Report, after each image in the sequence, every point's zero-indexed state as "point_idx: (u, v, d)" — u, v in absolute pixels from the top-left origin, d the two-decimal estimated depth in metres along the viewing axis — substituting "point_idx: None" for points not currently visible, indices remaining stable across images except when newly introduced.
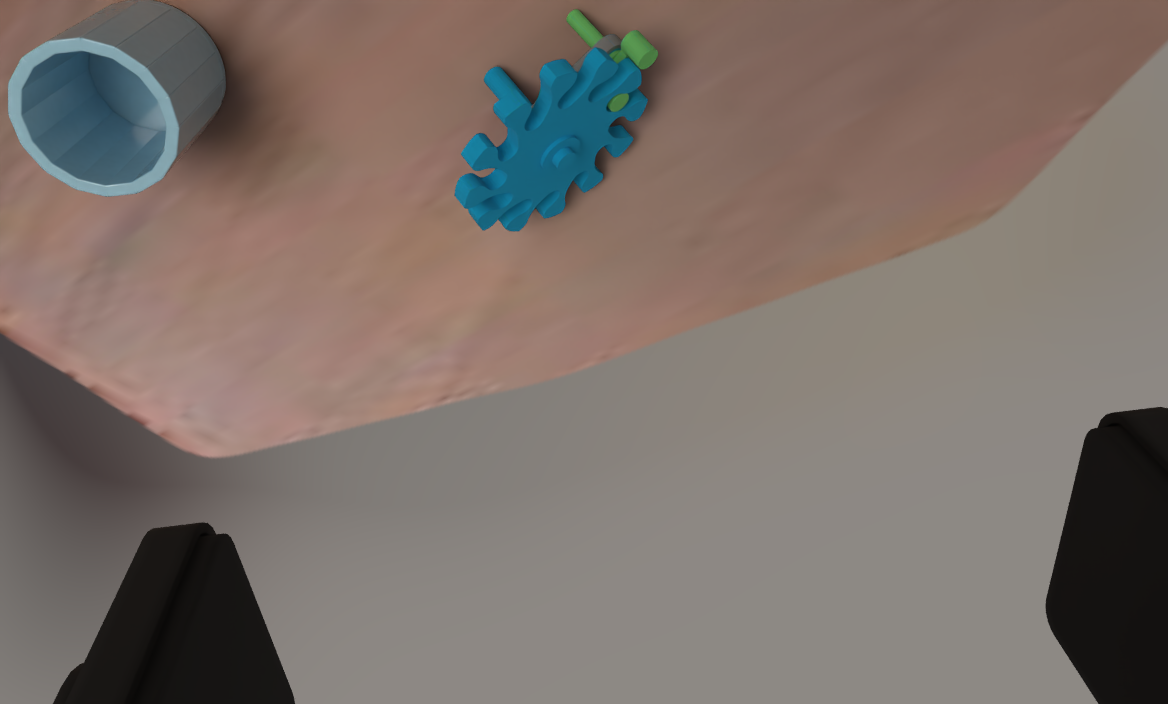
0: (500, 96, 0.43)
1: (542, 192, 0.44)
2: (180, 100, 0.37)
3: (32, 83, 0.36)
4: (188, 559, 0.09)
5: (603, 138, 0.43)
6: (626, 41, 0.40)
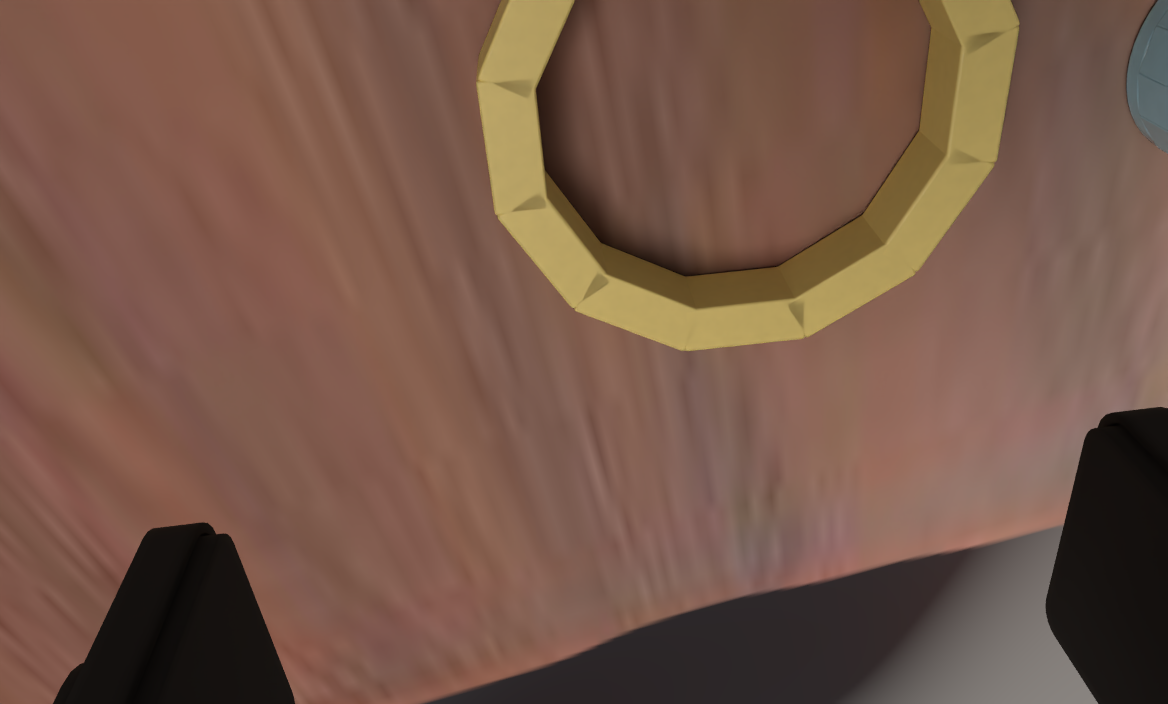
0: None
1: None
2: None
3: None
4: (188, 559, 0.09)
5: None
6: None
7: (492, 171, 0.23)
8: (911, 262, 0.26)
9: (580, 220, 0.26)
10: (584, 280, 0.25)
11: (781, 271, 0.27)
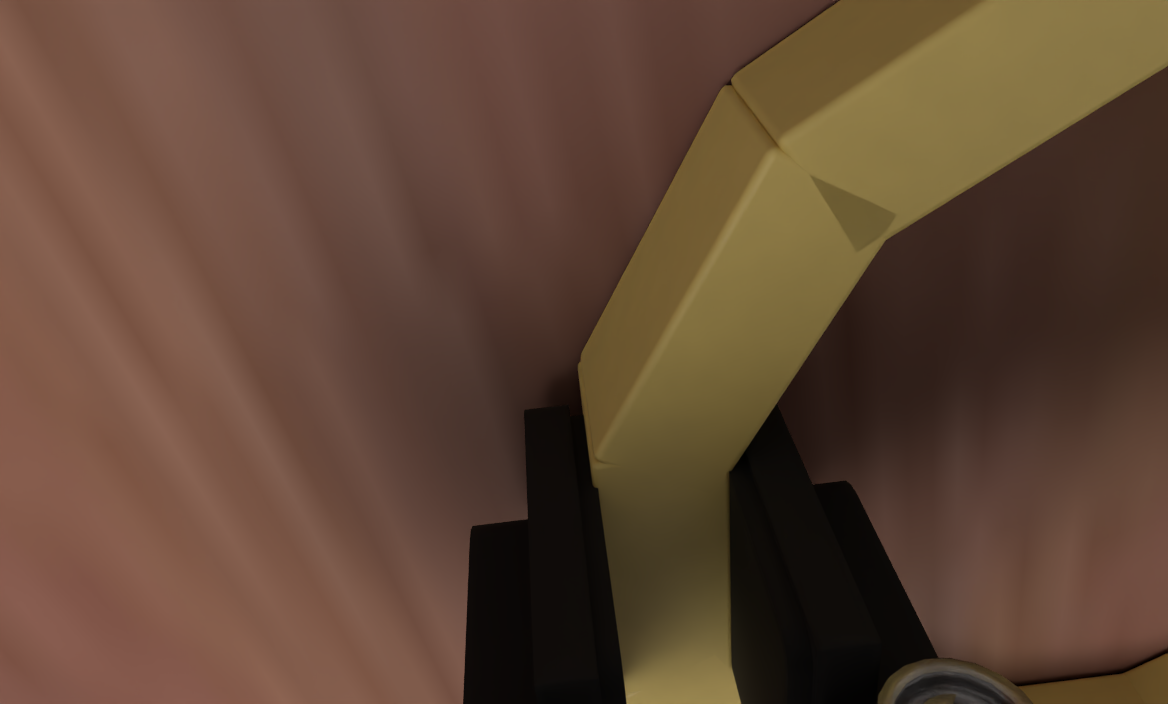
0: None
1: None
2: None
3: None
4: (572, 432, 0.10)
5: None
6: None
7: None
8: None
9: None
10: None
11: (1140, 691, 0.14)
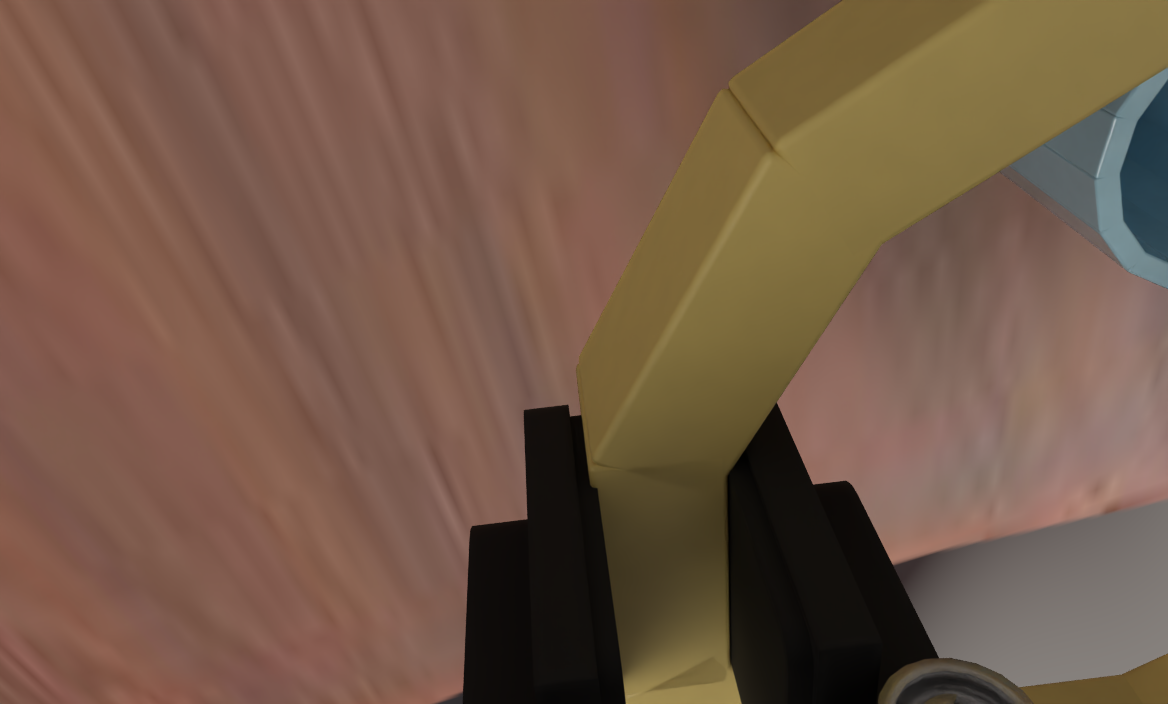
0: None
1: None
2: None
3: None
4: (572, 432, 0.10)
5: None
6: None
7: None
8: None
9: None
10: None
11: (1137, 693, 0.14)
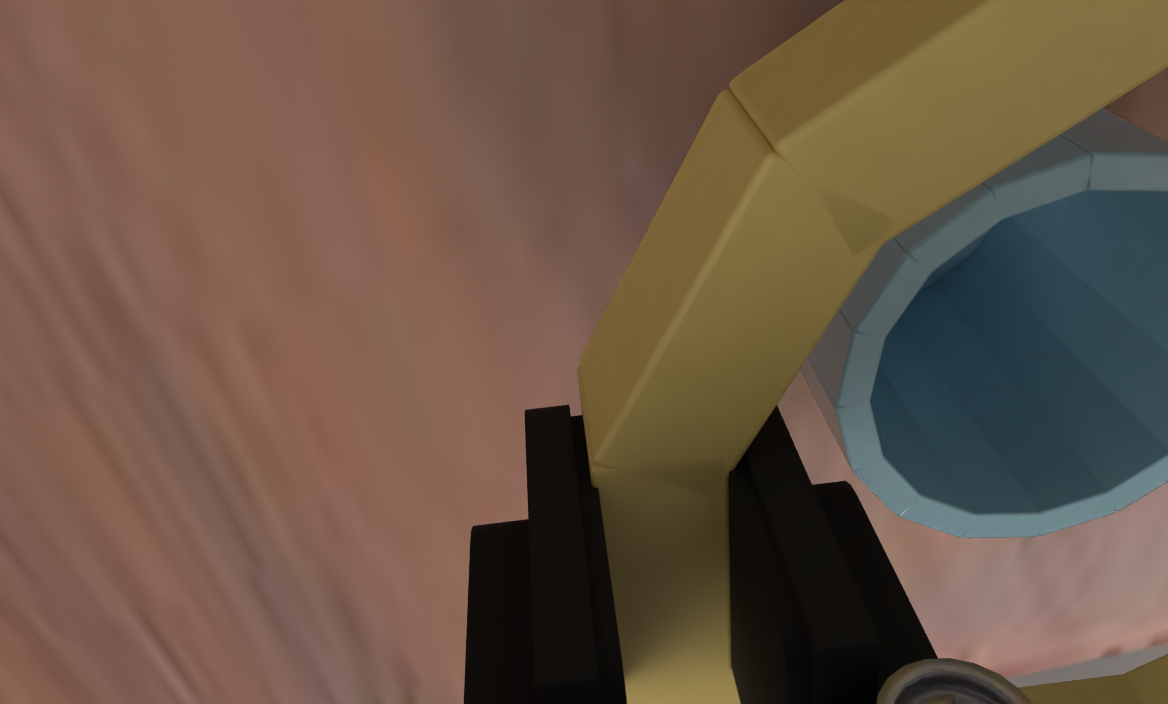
0: None
1: None
2: None
3: None
4: (573, 431, 0.10)
5: None
6: None
7: None
8: None
9: None
10: None
11: (1140, 693, 0.14)
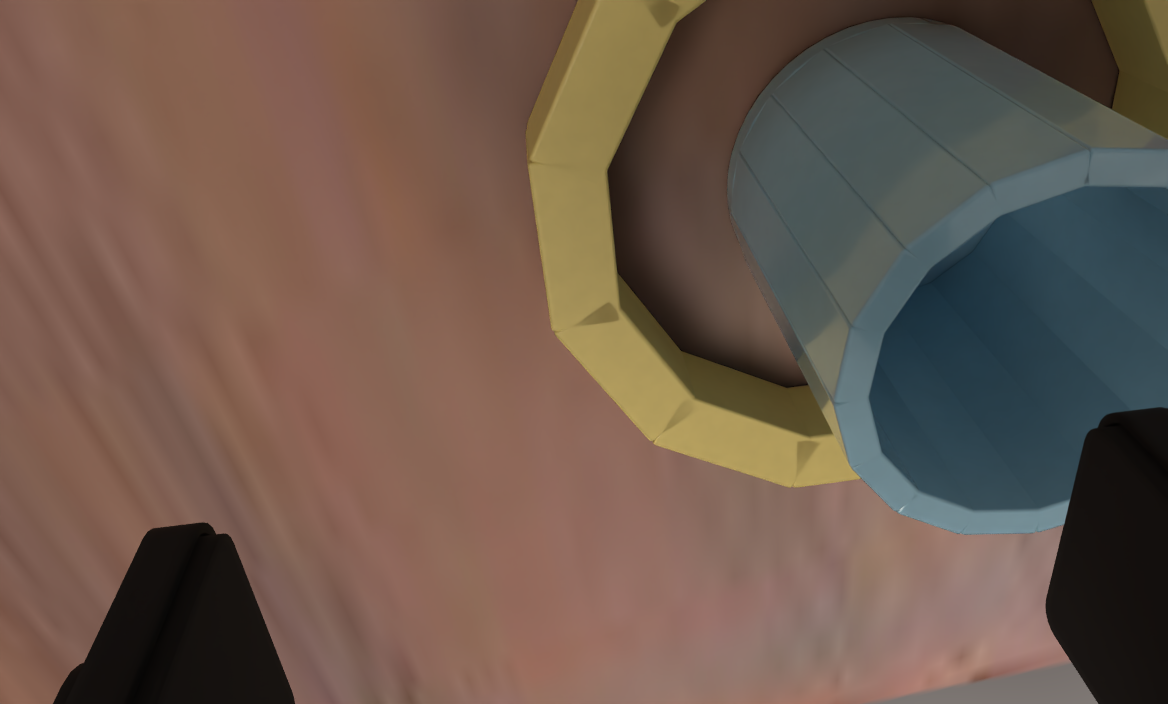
0: None
1: None
2: None
3: None
4: (188, 559, 0.09)
5: None
6: None
7: (548, 277, 0.18)
8: None
9: (657, 326, 0.20)
10: (666, 407, 0.19)
11: None
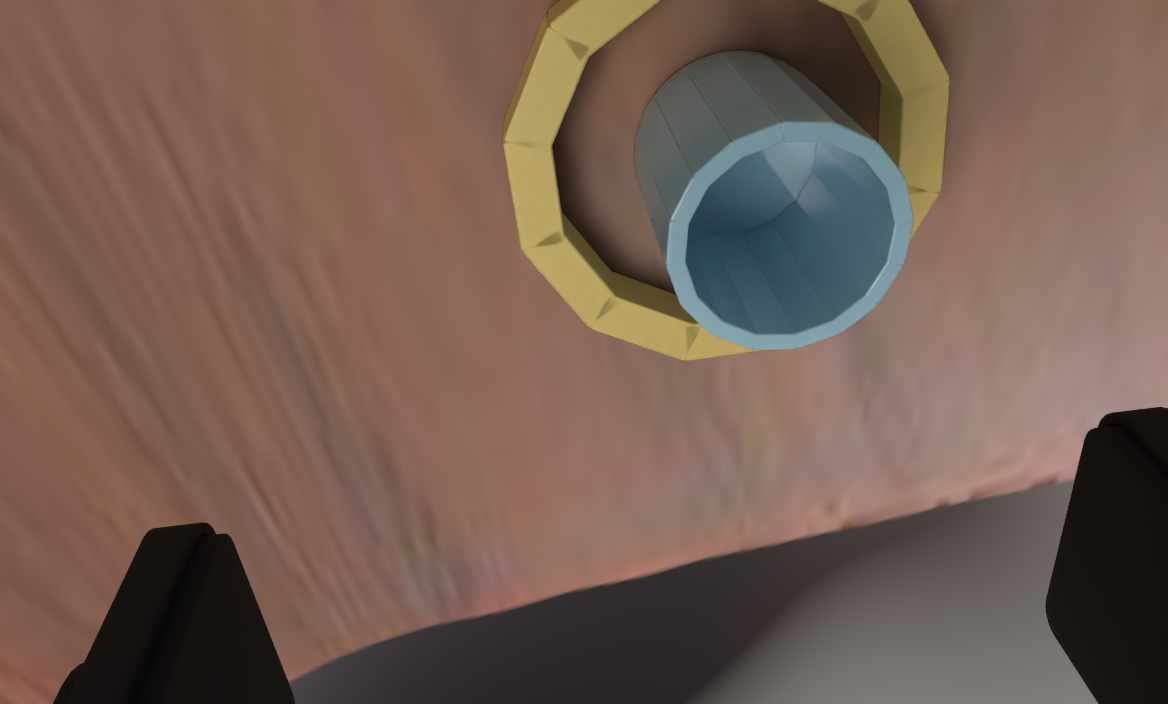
0: None
1: None
2: (838, 117, 0.23)
3: (692, 281, 0.25)
4: (188, 559, 0.09)
5: None
6: None
7: (518, 214, 0.28)
8: None
9: (593, 252, 0.31)
10: (597, 302, 0.30)
11: None
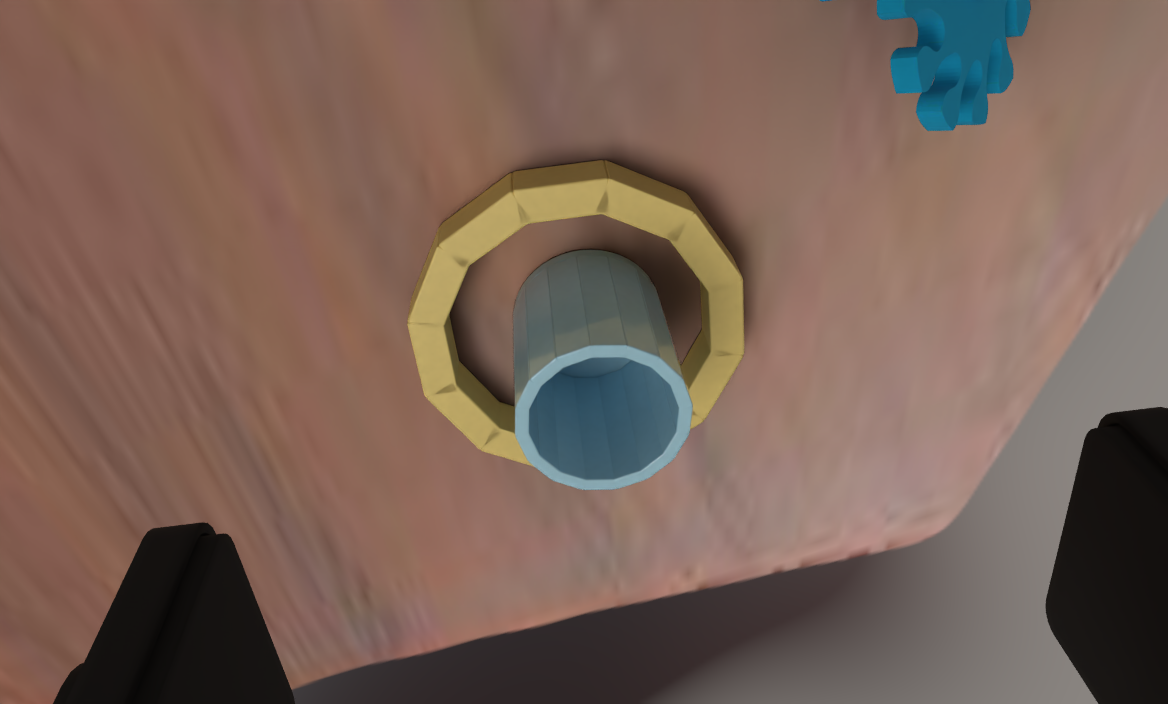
0: None
1: (998, 18, 0.30)
2: (636, 334, 0.32)
3: (539, 440, 0.34)
4: (188, 559, 0.09)
5: None
6: None
7: (420, 372, 0.37)
8: (699, 414, 0.39)
9: (483, 391, 0.40)
10: (485, 432, 0.39)
11: None
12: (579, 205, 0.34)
